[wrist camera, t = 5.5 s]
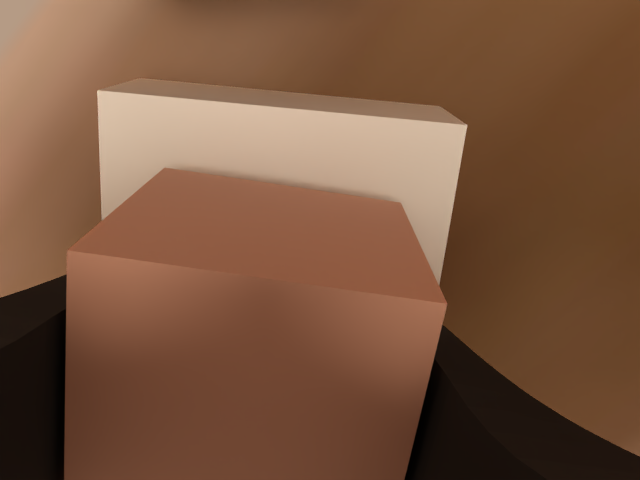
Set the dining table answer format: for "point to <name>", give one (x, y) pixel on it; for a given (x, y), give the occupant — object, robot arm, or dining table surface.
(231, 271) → the terracotta cube
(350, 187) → the cream block
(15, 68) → the dining table surface
